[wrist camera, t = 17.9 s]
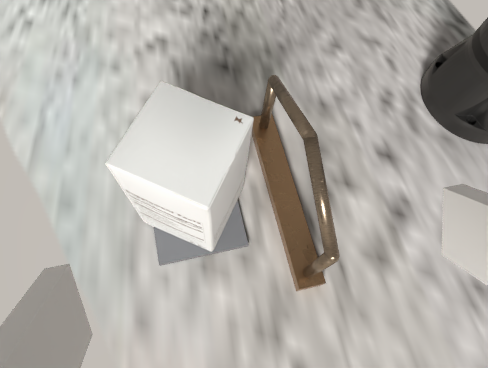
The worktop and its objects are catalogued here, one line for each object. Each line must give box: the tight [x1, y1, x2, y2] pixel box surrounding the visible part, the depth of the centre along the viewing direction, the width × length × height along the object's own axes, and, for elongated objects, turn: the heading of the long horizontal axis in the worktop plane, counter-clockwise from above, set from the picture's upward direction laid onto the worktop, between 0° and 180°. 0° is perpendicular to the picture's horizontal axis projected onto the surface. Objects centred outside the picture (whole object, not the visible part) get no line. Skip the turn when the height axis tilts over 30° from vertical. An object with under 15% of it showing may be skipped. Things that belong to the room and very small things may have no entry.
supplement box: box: [105, 81, 254, 252], centre depth 34 cm, size 9×9×15 cm
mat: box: [154, 200, 248, 265], centre depth 41 cm, size 10×10×1 cm
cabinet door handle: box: [252, 75, 339, 291], centre depth 36 cm, size 3×22×15 cm, turn 13°
